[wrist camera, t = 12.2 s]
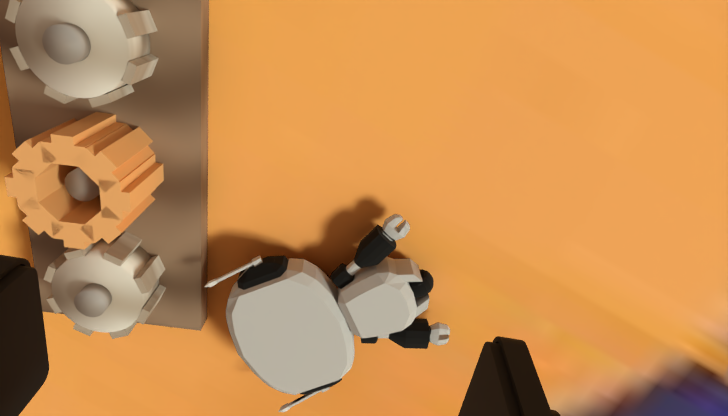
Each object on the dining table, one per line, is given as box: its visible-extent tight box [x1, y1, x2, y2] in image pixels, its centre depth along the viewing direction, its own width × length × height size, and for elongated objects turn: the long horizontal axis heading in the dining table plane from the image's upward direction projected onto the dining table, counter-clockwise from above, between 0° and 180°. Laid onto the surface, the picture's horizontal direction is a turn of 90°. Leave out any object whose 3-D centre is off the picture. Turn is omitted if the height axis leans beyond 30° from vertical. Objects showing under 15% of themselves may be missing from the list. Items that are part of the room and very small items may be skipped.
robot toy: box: [204, 214, 450, 412], centre depth 38 cm, size 12×4×15 cm
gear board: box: [0, 0, 209, 339], centre depth 33 cm, size 25×12×6 cm, turn 173°
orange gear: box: [5, 112, 164, 250], centre depth 32 cm, size 7×7×5 cm
